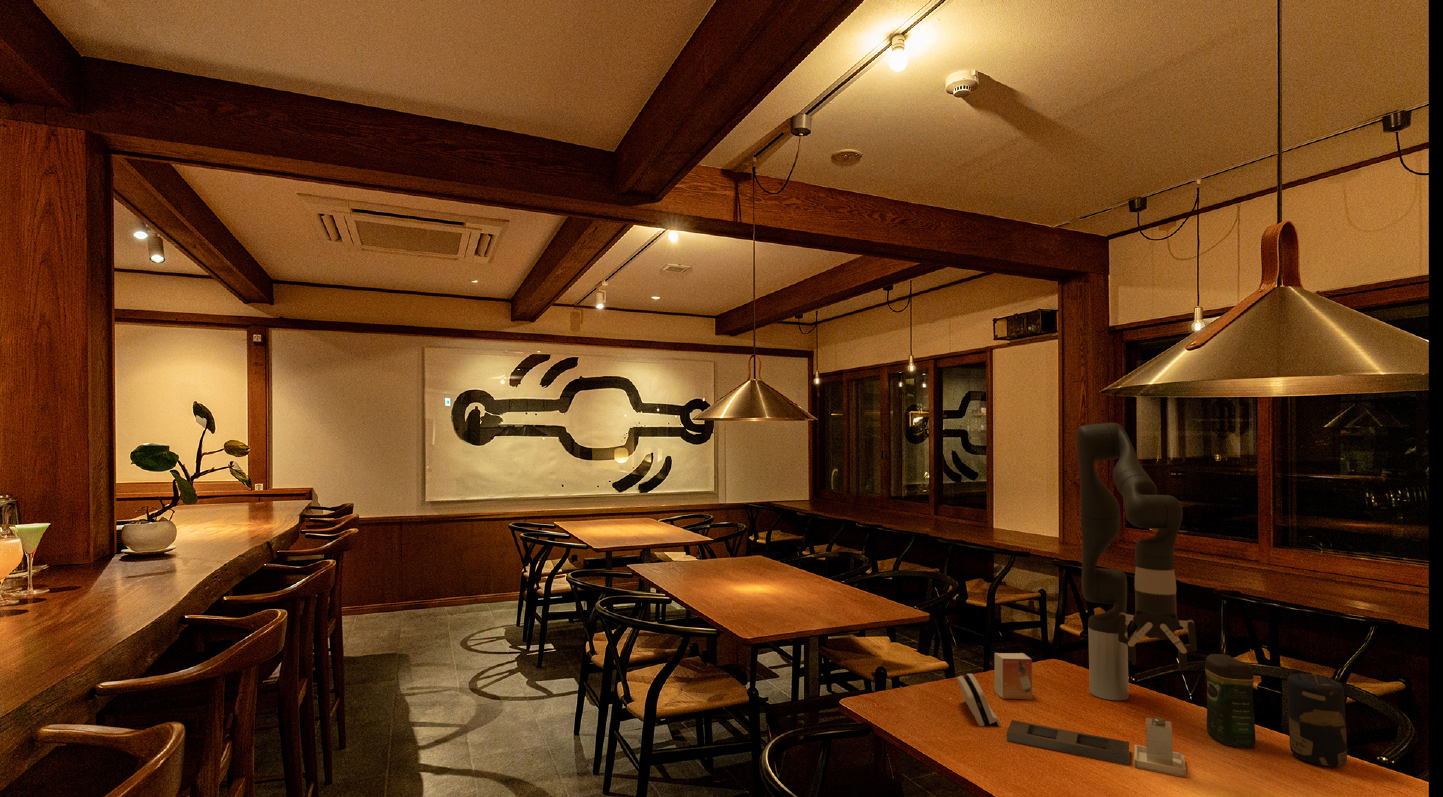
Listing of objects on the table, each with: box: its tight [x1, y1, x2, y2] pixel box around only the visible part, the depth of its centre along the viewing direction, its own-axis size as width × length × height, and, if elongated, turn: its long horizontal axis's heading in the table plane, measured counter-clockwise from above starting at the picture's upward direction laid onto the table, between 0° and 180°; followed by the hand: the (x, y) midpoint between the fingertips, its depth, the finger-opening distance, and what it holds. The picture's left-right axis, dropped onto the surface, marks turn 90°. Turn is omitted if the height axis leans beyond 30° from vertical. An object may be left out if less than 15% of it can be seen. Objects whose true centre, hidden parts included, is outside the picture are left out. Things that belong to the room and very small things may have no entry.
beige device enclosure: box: [956, 673, 1002, 728], centre depth 179 cm, size 17×5×10 cm, turn 173°
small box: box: [994, 652, 1033, 700], centre depth 192 cm, size 8×6×10 cm
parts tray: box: [1134, 744, 1187, 779], centre depth 152 cm, size 9×9×2 cm
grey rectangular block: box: [1145, 716, 1174, 767], centre depth 152 cm, size 5×5×9 cm
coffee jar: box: [1204, 653, 1257, 749], centre depth 165 cm, size 10×8×19 cm
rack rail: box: [1006, 719, 1130, 766], centre depth 160 cm, size 8×24×2 cm, turn 60°
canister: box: [1286, 673, 1348, 767], centre depth 155 cm, size 10×10×18 cm
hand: (1157, 667), depth 153 cm, fingers open, 8 cm apart
